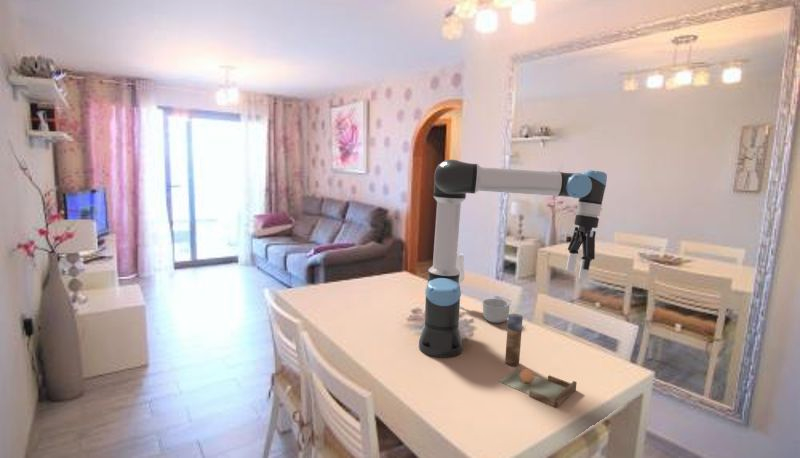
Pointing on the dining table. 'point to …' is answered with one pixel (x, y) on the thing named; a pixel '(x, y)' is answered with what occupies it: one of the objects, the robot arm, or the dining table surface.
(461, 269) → the champagne flute
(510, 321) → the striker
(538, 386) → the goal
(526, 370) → the ball
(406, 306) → the dining table surface
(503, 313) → the teacup
